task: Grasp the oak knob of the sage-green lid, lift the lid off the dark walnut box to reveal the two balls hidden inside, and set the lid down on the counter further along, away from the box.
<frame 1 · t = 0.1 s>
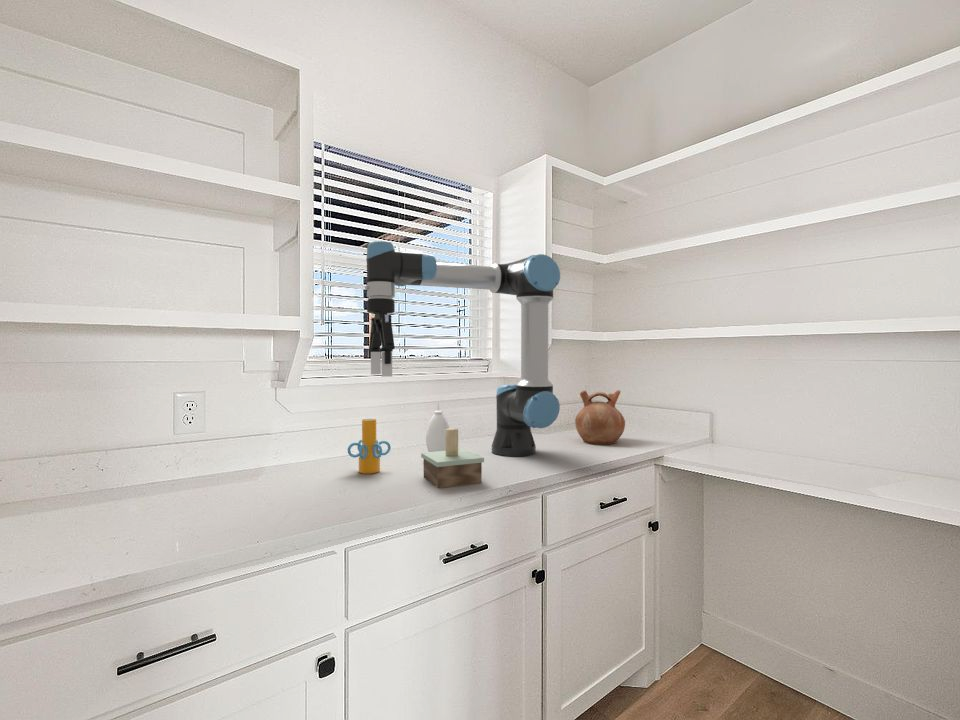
hand: (381, 375, 140), 28 cm above the worktop, fingers open, 13 cm apart
cylinder: (369, 472, 145), on the worktop
jug: (599, 442, 192), on the worktop
sauce bottle: (438, 459, 162), on the worktop
lid: (451, 459, 135), point 5 cm above the worktop, touching box
ball a: (459, 471, 137), point 2 cm above the worktop, touching box
ball b: (444, 474, 133), point 2 cm above the worktop, touching box
box: (451, 480, 135), on the worktop
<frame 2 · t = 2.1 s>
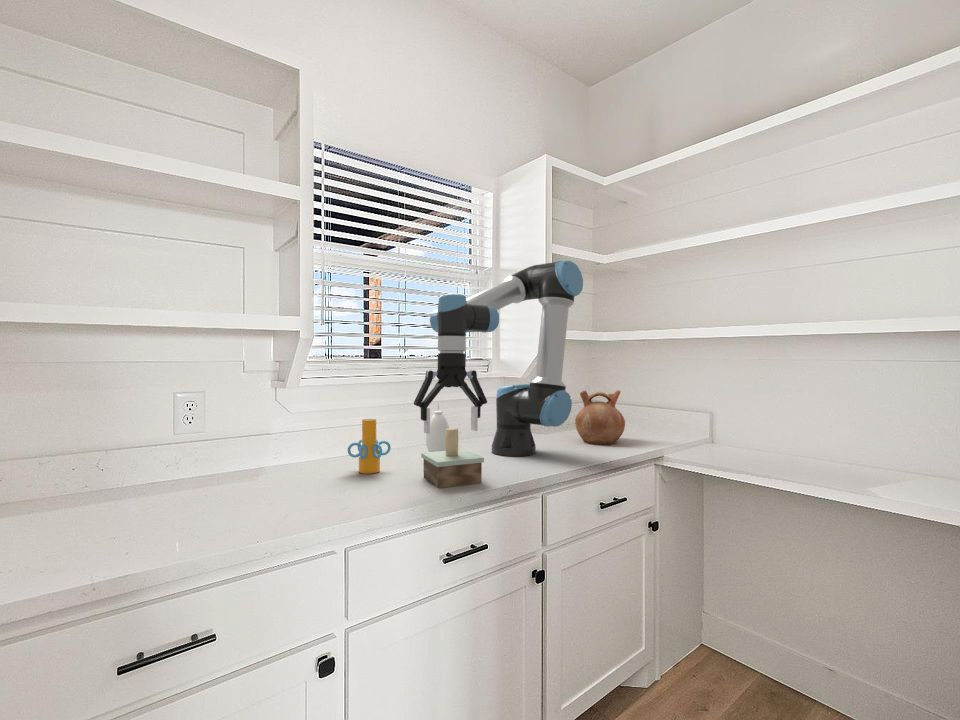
hand: (451, 431, 135), 13 cm above the worktop, fingers open, 13 cm apart
nothing on the worktop moved.
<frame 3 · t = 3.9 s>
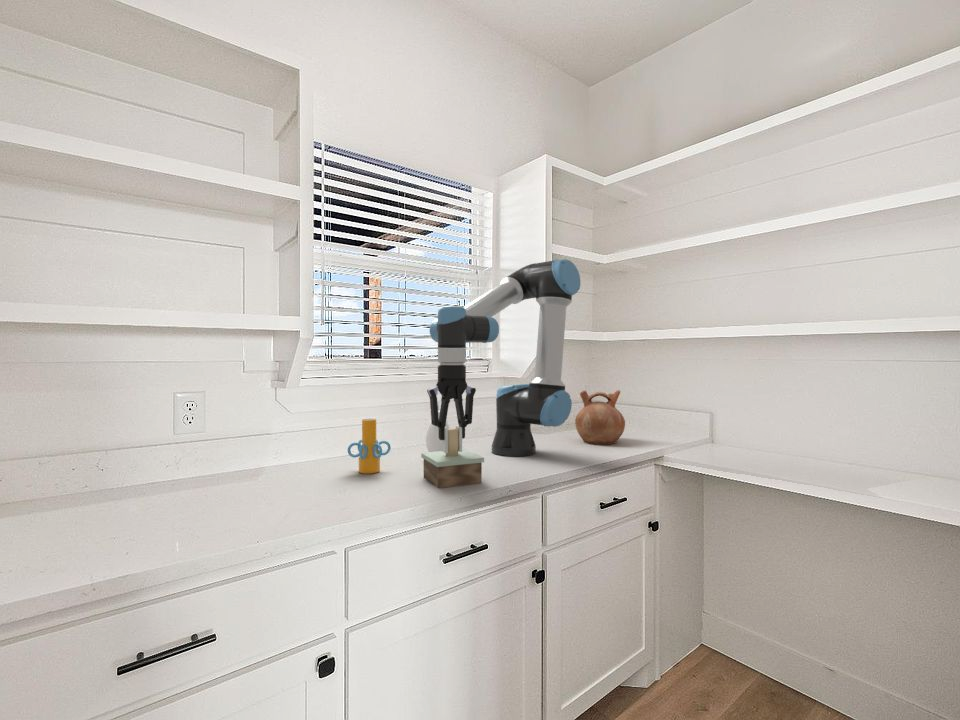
hand: (451, 451, 135), 8 cm above the worktop, fingers closed on lid, 3 cm apart
lid: (451, 459, 135), point 6 cm above the worktop, touching gripper
everything else where it was.
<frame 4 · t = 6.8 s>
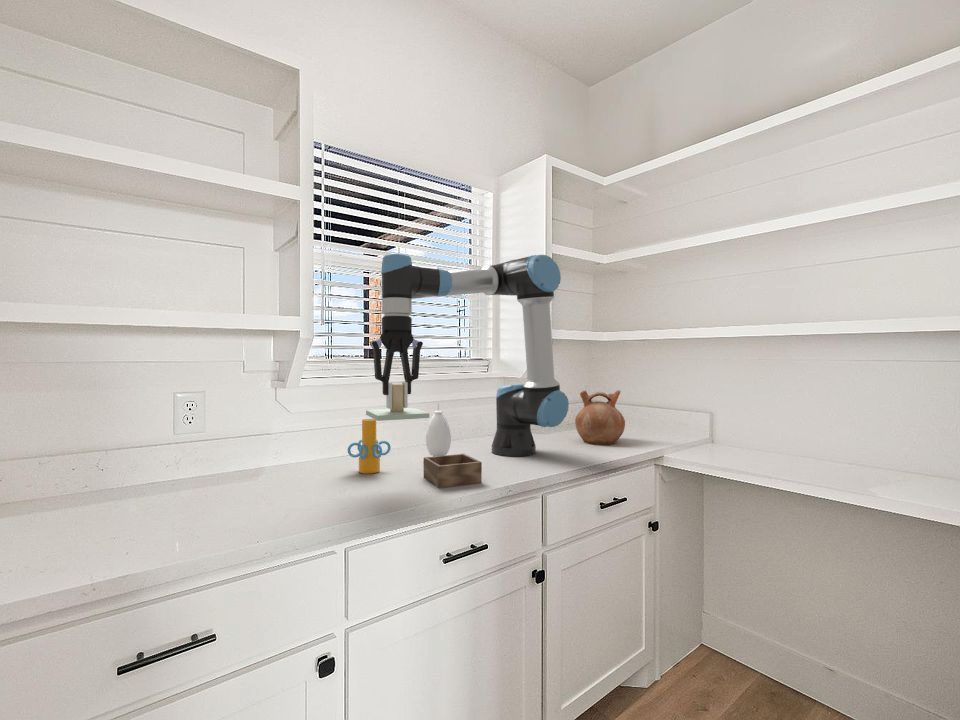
hand: (396, 407, 129), 20 cm above the worktop, fingers closed on lid, 3 cm apart
lid: (397, 416, 129), point 18 cm above the worktop, touching gripper
everything else where it was.
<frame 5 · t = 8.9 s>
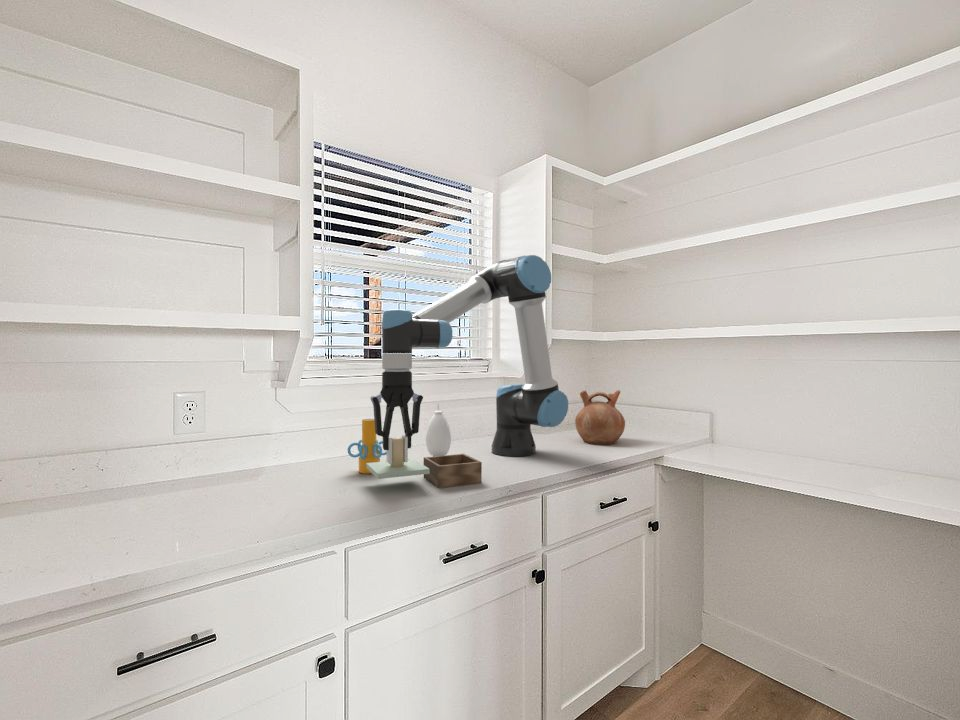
hand: (397, 461, 129), 6 cm above the worktop, fingers closed on lid, 3 cm apart
lid: (397, 470, 129), point 4 cm above the worktop, touching gripper
everything else where it was.
when the fingers open (4 cm above the worktop, at t = 10.2 s): lid drops 2 cm, on the worktop.
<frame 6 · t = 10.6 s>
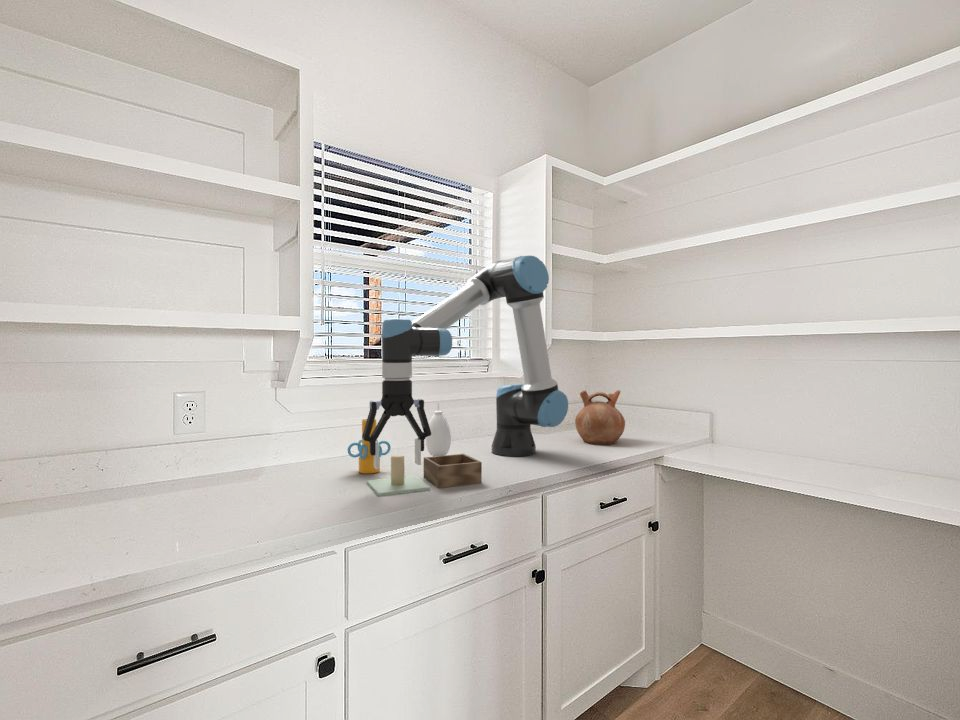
hand: (397, 465, 129), 5 cm above the worktop, fingers open, 10 cm apart
lid: (397, 488, 129), on the worktop
everything else where it was.
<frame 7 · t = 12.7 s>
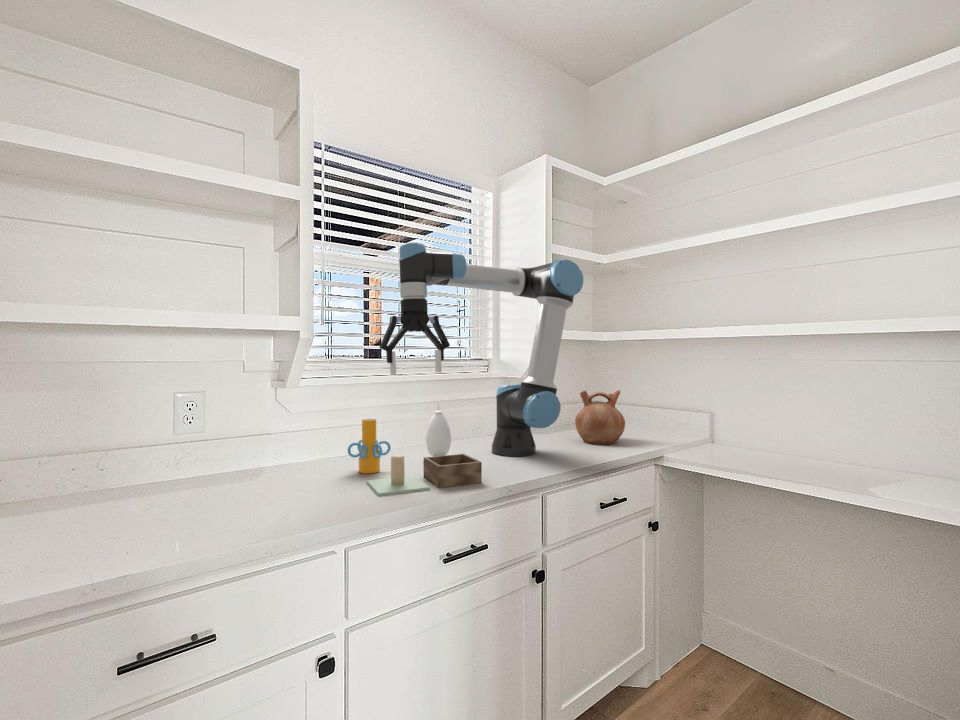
hand: (416, 373, 143), 28 cm above the worktop, fingers open, 13 cm apart
nothing on the worktop moved.
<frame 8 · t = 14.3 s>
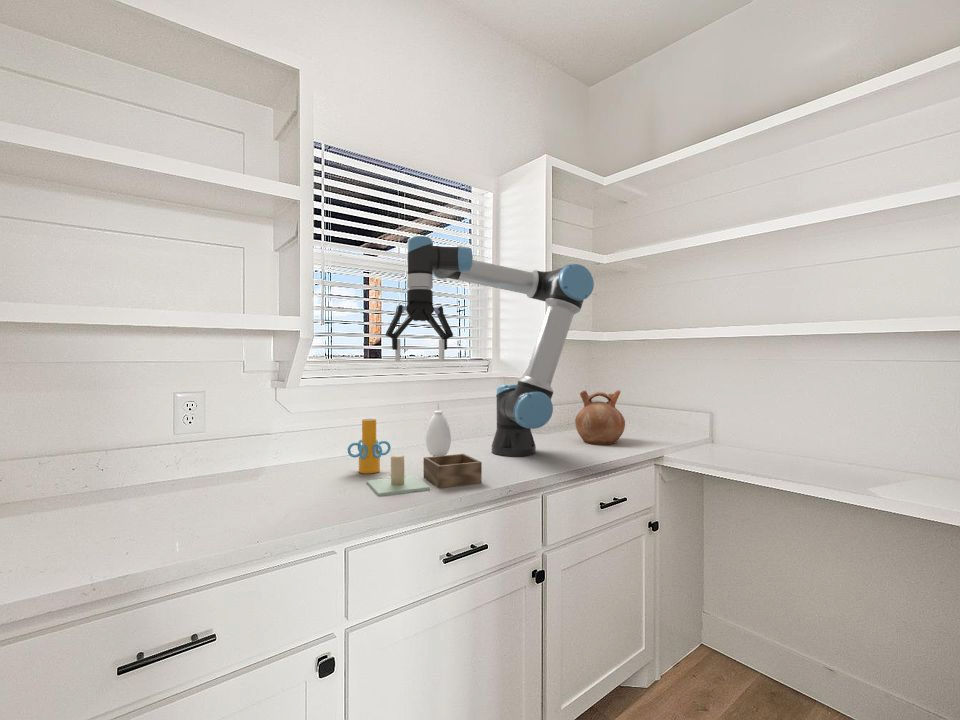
hand: (420, 361, 150), 32 cm above the worktop, fingers open, 13 cm apart
nothing on the worktop moved.
at the end: lid inside the target area (0.0 cm from its centre), on the worktop; lid touching worktop; lid tilted 0° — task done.
